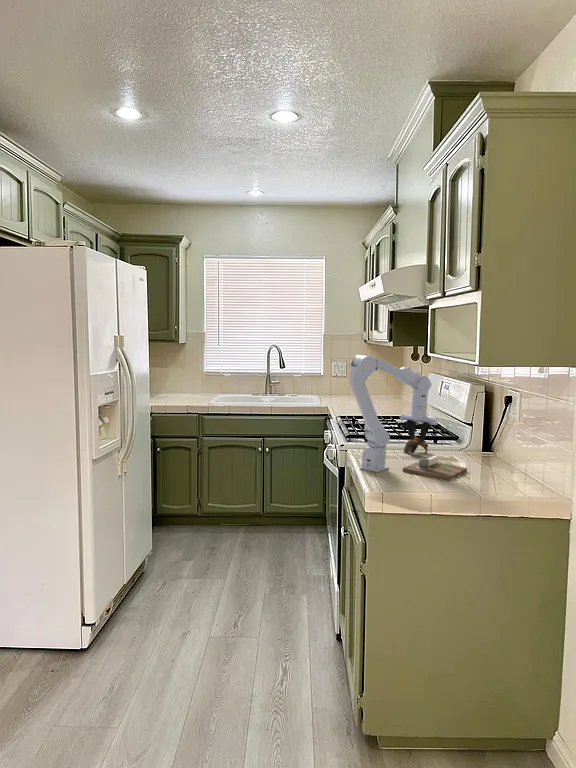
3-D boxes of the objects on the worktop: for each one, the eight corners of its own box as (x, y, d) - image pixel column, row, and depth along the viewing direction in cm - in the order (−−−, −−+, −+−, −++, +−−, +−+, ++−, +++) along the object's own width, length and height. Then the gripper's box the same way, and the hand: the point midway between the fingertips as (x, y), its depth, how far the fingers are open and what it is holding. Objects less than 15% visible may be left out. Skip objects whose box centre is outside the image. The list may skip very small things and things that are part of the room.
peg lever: (425, 468, 212) (426, 460, 212) (417, 467, 215) (417, 459, 214) (440, 462, 223) (441, 455, 222) (431, 461, 225) (432, 453, 225)
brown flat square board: (448, 481, 204) (448, 476, 204) (402, 471, 215) (402, 467, 215) (467, 471, 218) (467, 467, 218) (423, 463, 229) (423, 459, 229)
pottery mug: (404, 450, 253) (414, 435, 253) (422, 462, 250) (432, 447, 249) (398, 449, 242) (409, 432, 242) (417, 461, 239) (428, 445, 238)
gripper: (441, 407, 220) (439, 441, 221) (406, 402, 228) (404, 436, 230) (433, 409, 214) (431, 444, 215) (398, 404, 223) (396, 438, 224)
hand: (417, 440), depth 222 cm, fingers open, 4 cm apart
